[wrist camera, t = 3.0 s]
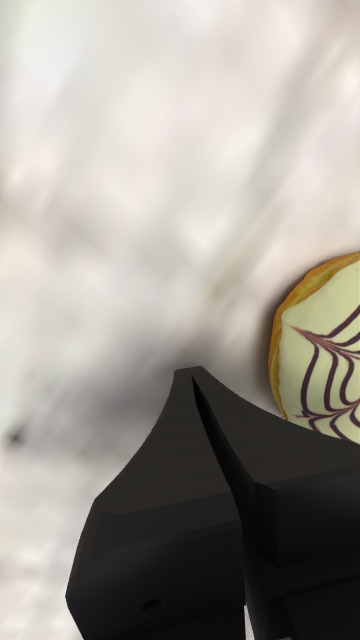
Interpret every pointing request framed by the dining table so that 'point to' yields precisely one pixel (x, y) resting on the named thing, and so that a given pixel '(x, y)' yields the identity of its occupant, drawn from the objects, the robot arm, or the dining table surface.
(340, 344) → the decorated donut
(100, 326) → the dining table surface
